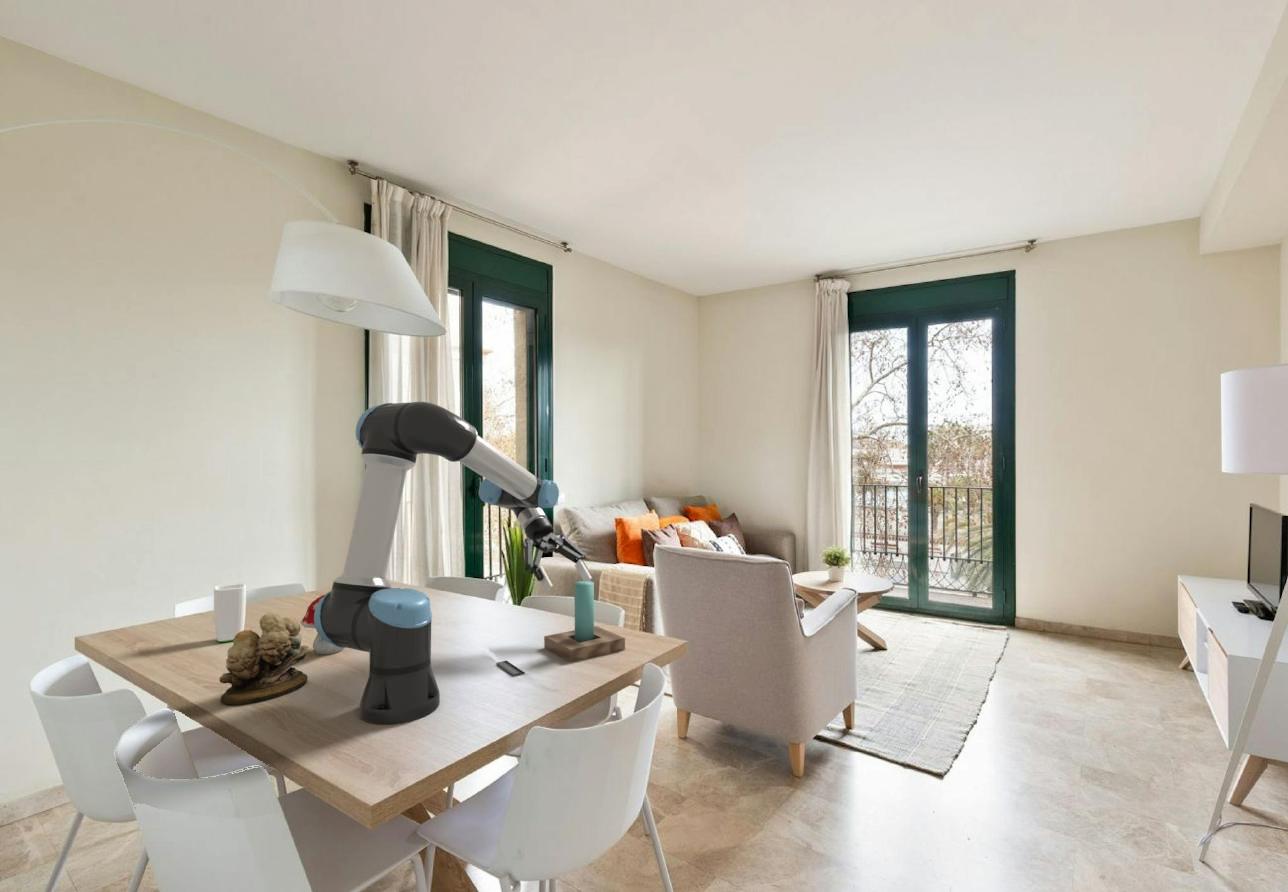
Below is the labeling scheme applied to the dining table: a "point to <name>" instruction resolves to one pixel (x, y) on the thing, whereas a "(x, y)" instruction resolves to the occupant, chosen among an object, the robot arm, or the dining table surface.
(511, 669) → the charcoal mat
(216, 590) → the cup
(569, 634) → the walnut holder
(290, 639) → the brown lumpy sculpture
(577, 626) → the teal peg
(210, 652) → the dining table surface
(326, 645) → the decorative mushroom
